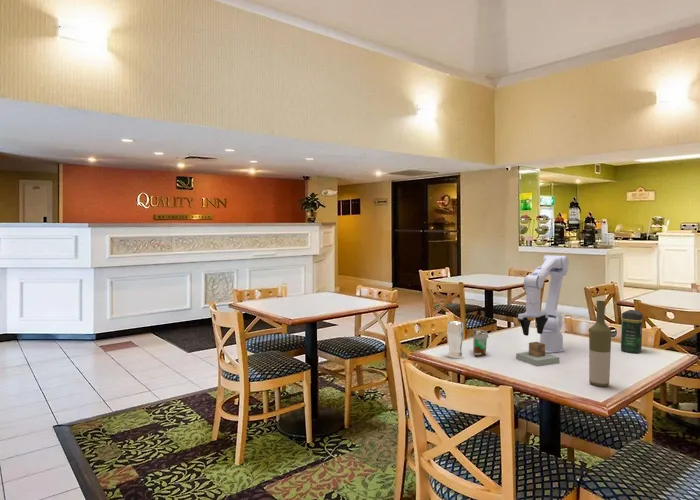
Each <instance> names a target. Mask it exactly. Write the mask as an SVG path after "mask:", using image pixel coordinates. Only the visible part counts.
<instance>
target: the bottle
mask: <svg viewBox="0 0 700 500" xmlns="http://www.w3.org/2000/svg"><path fill="white" fill-rule="evenodd" d="M605 313H606V301H605V300H596V321H595V323H594V324H592V326H591V327H589V330H588V339H589V340H588V343H589V344H588V348H589V349H588V359H589V360H588V367H589V368H588V377H589V378H588V380H589V381H588V382H589V384H591V385H593V386H597V387H607V386H608V387H609V385H610V376H611V372H610V371H611V352H612V351H611V348H612V347H611V346H612V329H611V328H610V327H609V326H608V325H607V323H606V320H605V318H606V317H605V316H606V314H605Z"/></svg>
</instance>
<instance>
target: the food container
mask: <svg viewBox="0 0 700 500" xmlns="http://www.w3.org/2000/svg"><path fill="white" fill-rule="evenodd" d="M472 333H473V334H472V335H473V337H472V338H473V339H472V341H473V342H472V343H473V355H474V357H479V358H480V357H485V356H486V352H487V340H488V338H489V333H488V331H486V330H484V329H480V328H479V329H477V328H473V332H472Z"/></svg>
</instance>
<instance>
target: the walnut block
mask: <svg viewBox="0 0 700 500" xmlns="http://www.w3.org/2000/svg"><path fill="white" fill-rule="evenodd" d="M528 352H529V355H532V356H535V357H541V356H545V353H546V352H545V344H543V343H540V341H534V342H528Z"/></svg>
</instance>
